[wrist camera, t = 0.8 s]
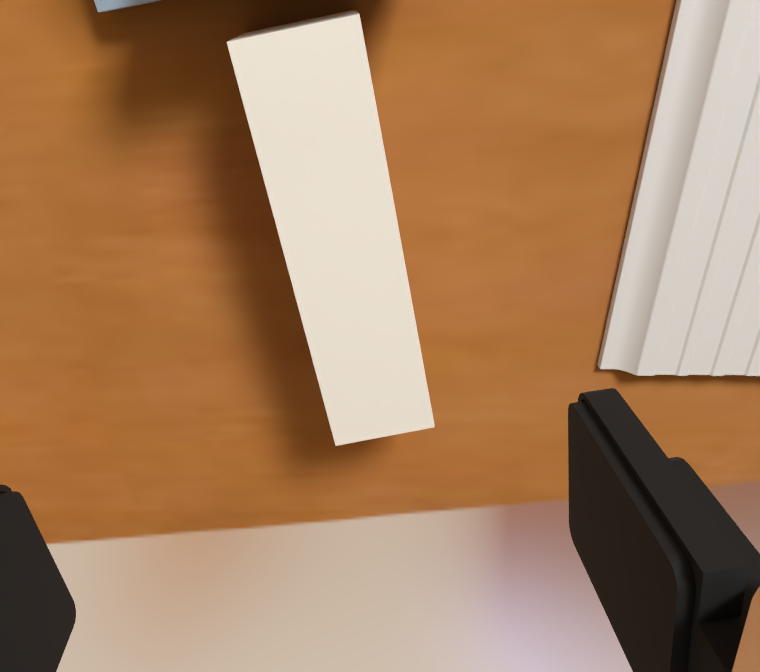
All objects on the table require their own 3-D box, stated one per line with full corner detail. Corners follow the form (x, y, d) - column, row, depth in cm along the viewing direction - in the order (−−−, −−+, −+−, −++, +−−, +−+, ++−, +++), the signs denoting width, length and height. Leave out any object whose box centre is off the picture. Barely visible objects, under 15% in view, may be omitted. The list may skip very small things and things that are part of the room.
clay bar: (245, 32, 24) (226, 41, 20) (354, 9, 24) (359, 13, 20) (335, 381, 31) (335, 445, 27) (420, 364, 31) (434, 426, 27)
